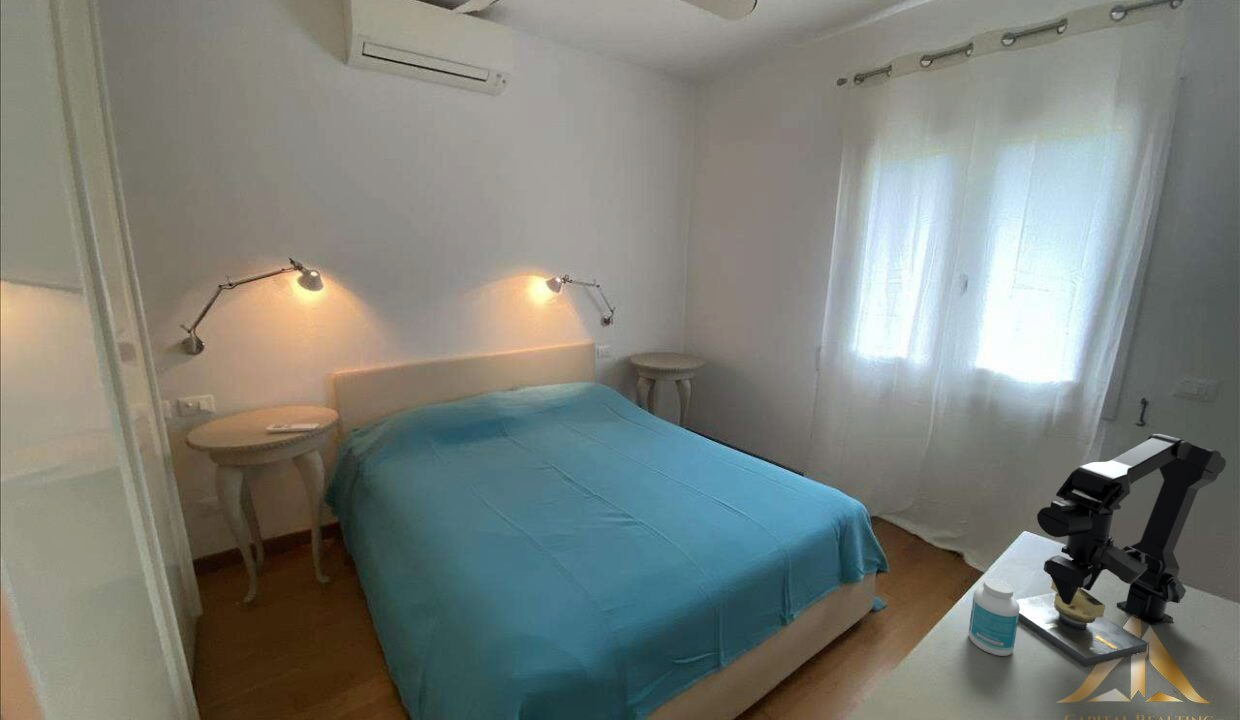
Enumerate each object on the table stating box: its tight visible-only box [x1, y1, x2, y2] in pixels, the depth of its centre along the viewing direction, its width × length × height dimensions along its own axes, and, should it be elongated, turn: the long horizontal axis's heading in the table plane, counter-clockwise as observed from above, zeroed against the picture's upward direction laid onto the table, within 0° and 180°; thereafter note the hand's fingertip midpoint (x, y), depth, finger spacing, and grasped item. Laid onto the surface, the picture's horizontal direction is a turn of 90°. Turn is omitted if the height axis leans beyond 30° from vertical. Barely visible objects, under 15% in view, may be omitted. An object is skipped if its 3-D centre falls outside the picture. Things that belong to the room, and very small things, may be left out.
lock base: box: [1016, 591, 1149, 668], centre depth 101 cm, size 16×16×4 cm
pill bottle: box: [968, 577, 1020, 657], centre depth 97 cm, size 8×7×14 cm
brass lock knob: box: [1050, 579, 1106, 623], centre depth 100 cm, size 9×6×5 cm
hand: (1076, 596), depth 100 cm, fingers open, 9 cm apart
